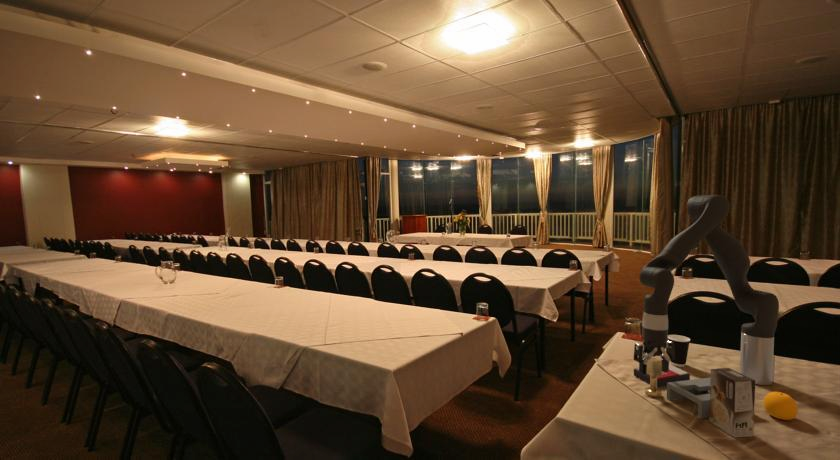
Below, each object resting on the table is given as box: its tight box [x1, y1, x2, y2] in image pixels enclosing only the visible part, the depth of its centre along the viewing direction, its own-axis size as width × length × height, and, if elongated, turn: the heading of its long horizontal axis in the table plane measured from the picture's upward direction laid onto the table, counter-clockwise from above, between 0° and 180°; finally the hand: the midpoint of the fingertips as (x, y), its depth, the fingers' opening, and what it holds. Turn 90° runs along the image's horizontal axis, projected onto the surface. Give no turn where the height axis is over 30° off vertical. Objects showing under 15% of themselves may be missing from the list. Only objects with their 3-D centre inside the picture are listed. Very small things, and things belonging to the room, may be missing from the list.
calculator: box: [633, 364, 691, 388], centre depth 150 cm, size 11×4×15 cm
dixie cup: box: [668, 334, 691, 368], centre depth 163 cm, size 8×8×11 cm
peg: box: [644, 357, 663, 399], centre depth 137 cm, size 5×5×12 cm
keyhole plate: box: [666, 377, 710, 419], centre depth 130 cm, size 18×13×6 cm
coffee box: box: [708, 367, 756, 438], centre depth 116 cm, size 9×6×16 cm
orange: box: [762, 391, 799, 421], centre depth 122 cm, size 8×8×8 cm
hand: (653, 372), depth 137 cm, fingers open, 8 cm apart
